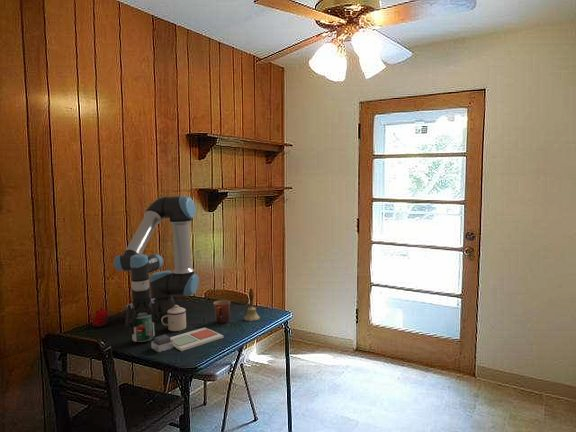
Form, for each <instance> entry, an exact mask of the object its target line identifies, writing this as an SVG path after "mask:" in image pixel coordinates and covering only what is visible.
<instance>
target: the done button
mask: <svg viewBox="0 0 576 432" xmlns="http://www.w3.org/2000/svg"><path fill="white" fill-rule="evenodd" d="M170 337H171V336H169V335H167V334H162V335H158V336H153V338H154V340H153V341H154V342H155V343H157V344H159V345H161V344H164V343H168V342H171V341H170Z"/></svg>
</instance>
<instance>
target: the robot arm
mask: <svg viewBox="0 0 576 432" xmlns="http://www.w3.org/2000/svg"><path fill="white" fill-rule="evenodd" d="M196 209H197V208H196V204H195V202H194V200H193V199H192V198H191V197H190V196H183V195H180V196H161V197H160V198H157V199H155V200H154V201H153V202H151V203H150V204H149V205H148V207H147V208H146V209H145V211H144V213H143V218H142V221H141V222H140V224H139V226H138V228H137V229H136V231H135V233H134V234H133V236H132V238H131V240H130V242H129V243H128V245H127V247H126V249H125V251H124V253H123V254H118V255H116V256H115V257H114V260H113V266H114V269H115V270H117V271H121V272H122V271H123V272H130V276H131V280H130V281H131V290H132V291H131V293H132V294H131V295H132V301H131V303H129V304H128V303H126V304H125V309H126V311H125V313H126V315H125V323H124V326H125V327H127V328H129V334H130V335H131V336H132V337H131V338H132V341H133V342H137V338H136V327H135V326H134V325H135V322H136V318H137V316H138V313H141V312H140V311H142V310H146V312H147V313H148V314H150V315H151V317H152V333H153V337H156V333H155V329H156V328H157V321H158V320H161V318H162V317H163V316H165V315H168V314H167V311H168V310H169V309H172V308H173V307H174V306H175V305H176V304H175V301H174V298H173V296H193V295H195V293H196V292H197V290H198V288H199V284H200V283H199V282H200V281H199V280H200V279H199V275H198V274H196V273H195V269H194V268H193V267H192V259H191V258H192V256H191V237H190V235H191V234H190V224H191V223H192V220H193V218H195V216H196V213H197V212H196V211H197V210H196ZM164 219H169V223H170V224H172V235H173V239H172V240H173V253H174V254H173V255H174V256H173V257H174V269H173V270H167V269H166V270H160V271H158V270H159V269H161V268H162V267H163V265H164V258H163V257H162V255H160V254H157V253H154V254H150V255H147V254H144V253H143V251H144V250H145V249H146V246H147V244H148V243H149V240H150V239H151V236H152V235H153V234H154V231H155V229H156V228H157V226H158V225H159V224H160V223H161V222H162V220H164ZM155 271H157V272H155ZM153 272H154V273H153ZM150 273H151V274H150ZM132 310H133V313H132Z"/></svg>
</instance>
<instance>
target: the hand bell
mask: <svg viewBox="0 0 576 432" xmlns="http://www.w3.org/2000/svg"><path fill="white" fill-rule="evenodd" d="M254 295H255V293H254V289H253V288H249V291H248V298H249V307H248V308H247V309H246V315H245V316H244V318H243V320H244V321H247V322H256V321H259V320H260V319H261V318H260V317H261V316H259V315H258V313H257V310H256V307H254V297H255V296H254Z"/></svg>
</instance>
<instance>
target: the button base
mask: <svg viewBox="0 0 576 432" xmlns="http://www.w3.org/2000/svg"><path fill="white" fill-rule="evenodd" d="M150 341H151V340H150ZM170 341H171V342H168V343H164V344H161V345H159V344H157V343H155V342H154V340H152V341H151V344H150V345H151V349H152V350H154V351H156V352H157V353H162V351H163V352H165V351H169V350H173V349H175V347H174V341H172V340H170Z"/></svg>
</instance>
